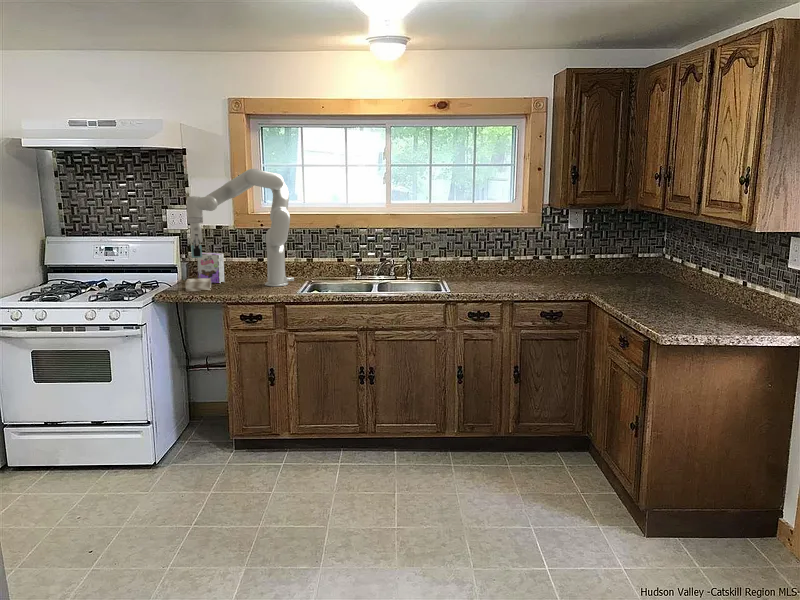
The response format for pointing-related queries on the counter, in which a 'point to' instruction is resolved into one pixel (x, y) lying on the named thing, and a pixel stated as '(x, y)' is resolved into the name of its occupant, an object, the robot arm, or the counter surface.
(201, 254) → the teal block
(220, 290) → the counter surface
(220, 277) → the candy box
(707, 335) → the counter surface
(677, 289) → the counter surface
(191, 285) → the birch block
